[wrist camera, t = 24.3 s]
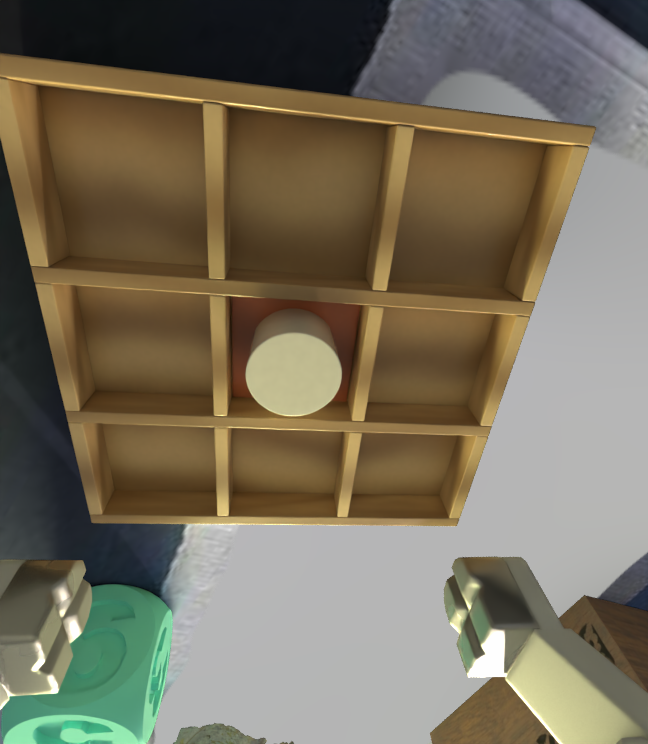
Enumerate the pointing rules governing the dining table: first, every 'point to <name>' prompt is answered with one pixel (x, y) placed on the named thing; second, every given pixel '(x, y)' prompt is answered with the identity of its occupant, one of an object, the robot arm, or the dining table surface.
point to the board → (277, 285)
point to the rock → (216, 736)
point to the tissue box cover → (511, 714)
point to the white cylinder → (293, 363)
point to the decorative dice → (103, 677)
